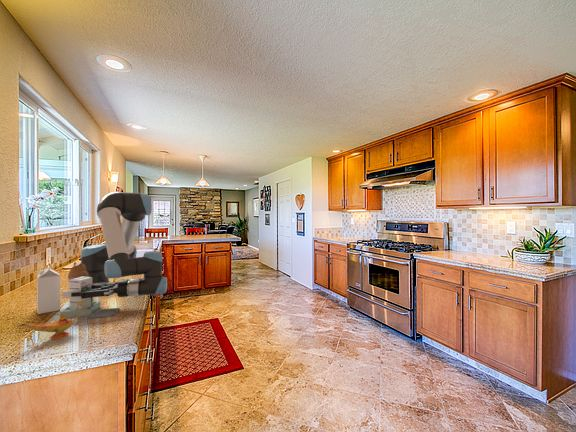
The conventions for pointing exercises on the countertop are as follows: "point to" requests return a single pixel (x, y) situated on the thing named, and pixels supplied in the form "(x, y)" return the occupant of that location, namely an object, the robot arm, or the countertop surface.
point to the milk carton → (48, 291)
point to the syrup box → (80, 284)
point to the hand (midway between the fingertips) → (67, 291)
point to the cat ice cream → (77, 271)
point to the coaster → (103, 313)
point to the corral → (80, 310)
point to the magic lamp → (56, 325)
